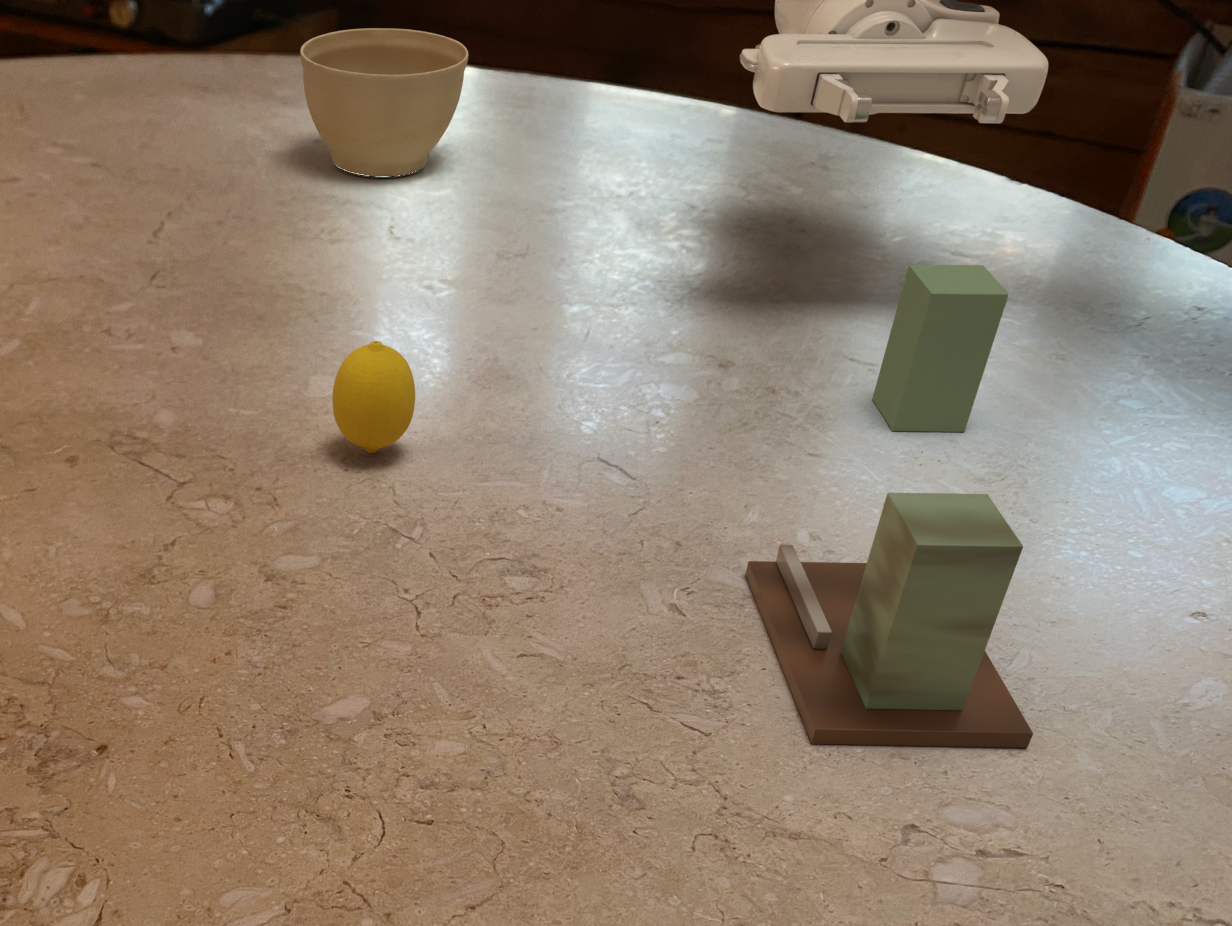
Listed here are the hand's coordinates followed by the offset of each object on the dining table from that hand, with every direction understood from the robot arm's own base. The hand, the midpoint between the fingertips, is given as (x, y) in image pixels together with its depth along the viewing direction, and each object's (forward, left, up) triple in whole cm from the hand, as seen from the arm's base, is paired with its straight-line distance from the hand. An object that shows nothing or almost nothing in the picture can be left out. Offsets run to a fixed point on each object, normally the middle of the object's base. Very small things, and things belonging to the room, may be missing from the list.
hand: (927, 111), depth 102 cm
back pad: (-9, +7, -17) cm, 21 cm away
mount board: (-25, +35, -17) cm, 46 cm away
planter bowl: (+56, +1, -18) cm, 59 cm away
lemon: (+11, +41, -18) cm, 46 cm away
